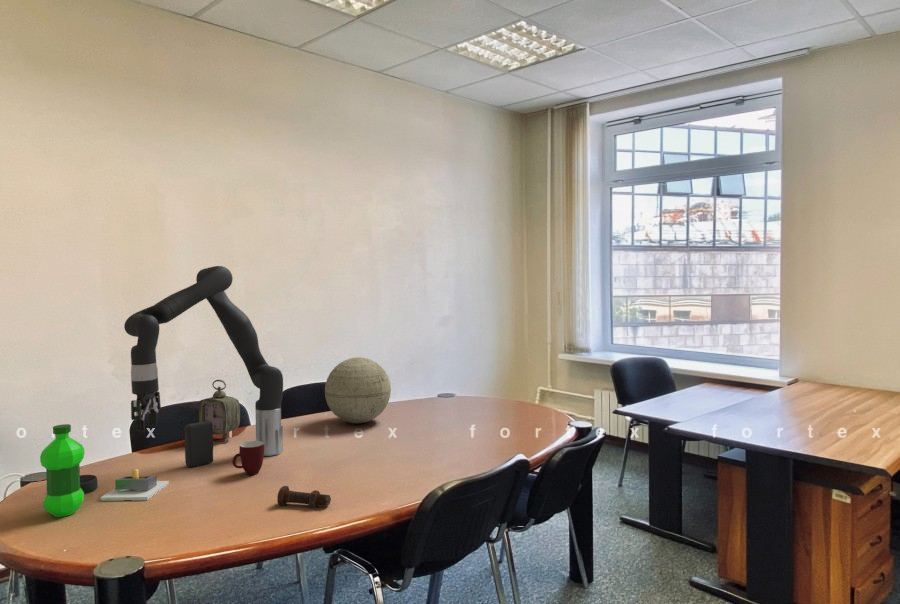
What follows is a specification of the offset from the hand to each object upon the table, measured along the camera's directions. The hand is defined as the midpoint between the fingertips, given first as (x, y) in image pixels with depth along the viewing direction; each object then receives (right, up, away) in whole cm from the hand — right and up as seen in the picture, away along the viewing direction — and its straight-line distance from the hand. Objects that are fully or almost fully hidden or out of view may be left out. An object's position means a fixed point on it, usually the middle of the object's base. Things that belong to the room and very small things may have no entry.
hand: (147, 428), depth 186 cm
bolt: (+53, -20, -14) cm, 59 cm away
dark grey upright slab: (+6, -18, +24) cm, 31 cm away
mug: (+27, -19, +14) cm, 36 cm away
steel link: (-2, -18, -3) cm, 18 cm away
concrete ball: (+54, -16, +85) cm, 101 cm away
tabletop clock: (+1, -17, +56) cm, 59 cm away
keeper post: (-2, -19, -3) cm, 20 cm away
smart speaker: (-20, -20, -1) cm, 28 cm away
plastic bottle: (-14, -20, -19) cm, 31 cm away
